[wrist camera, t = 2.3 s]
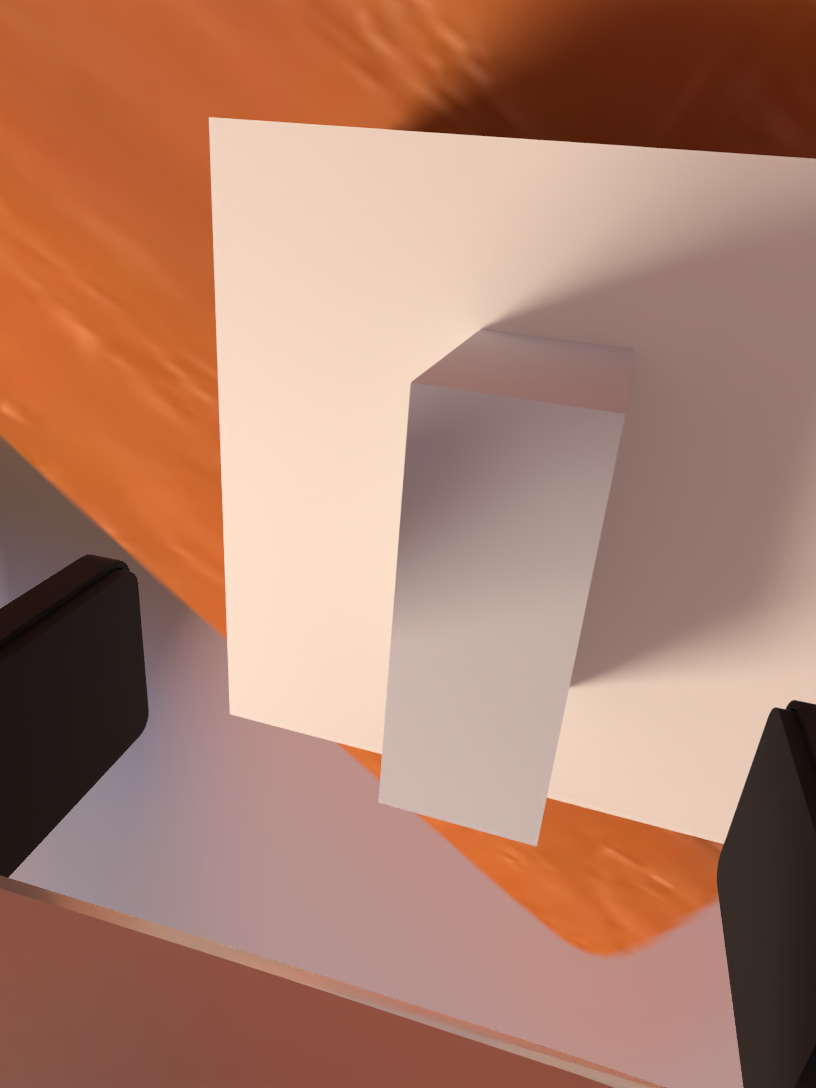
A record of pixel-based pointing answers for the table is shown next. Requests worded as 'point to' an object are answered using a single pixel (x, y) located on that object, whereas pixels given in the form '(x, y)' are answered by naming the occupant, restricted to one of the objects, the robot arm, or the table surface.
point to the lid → (518, 462)
